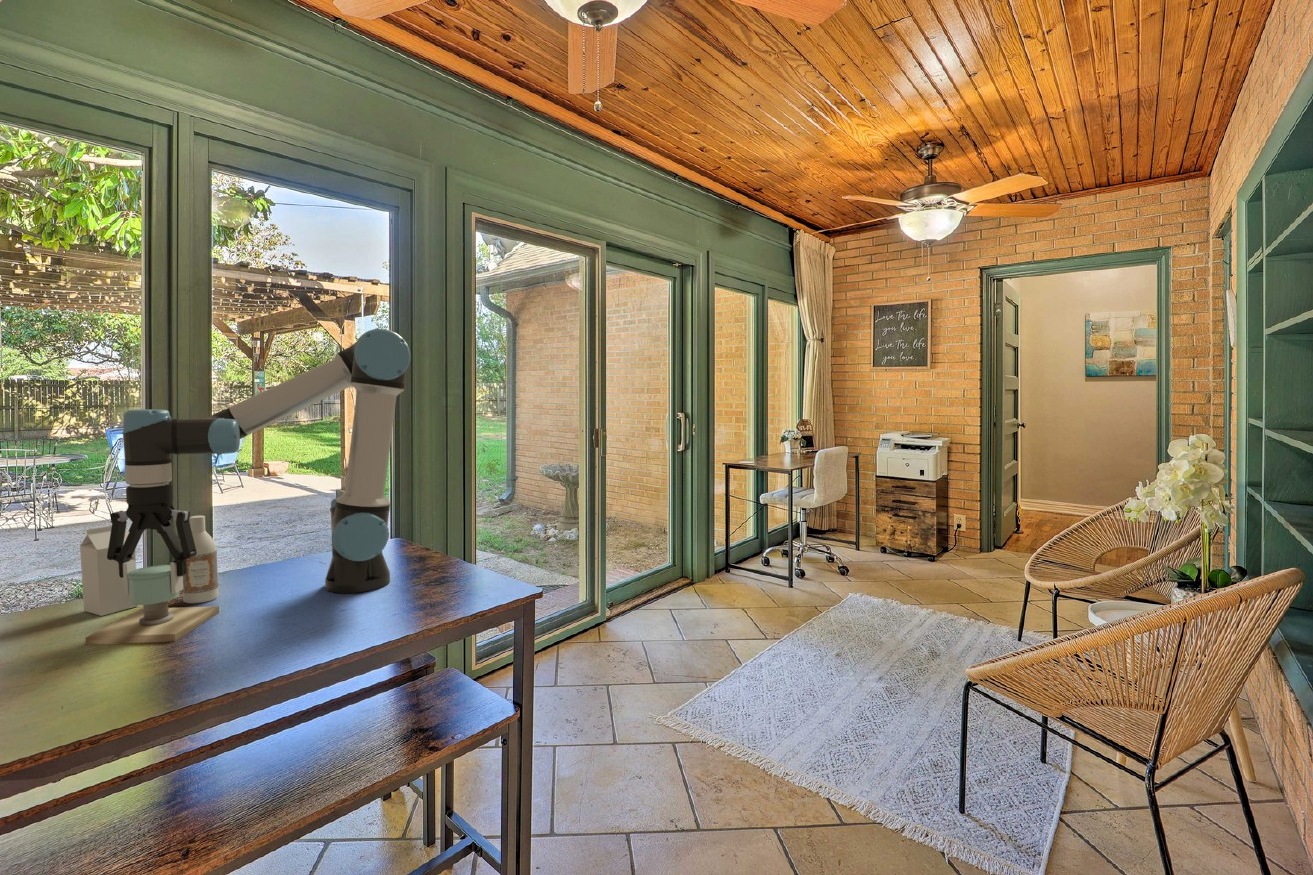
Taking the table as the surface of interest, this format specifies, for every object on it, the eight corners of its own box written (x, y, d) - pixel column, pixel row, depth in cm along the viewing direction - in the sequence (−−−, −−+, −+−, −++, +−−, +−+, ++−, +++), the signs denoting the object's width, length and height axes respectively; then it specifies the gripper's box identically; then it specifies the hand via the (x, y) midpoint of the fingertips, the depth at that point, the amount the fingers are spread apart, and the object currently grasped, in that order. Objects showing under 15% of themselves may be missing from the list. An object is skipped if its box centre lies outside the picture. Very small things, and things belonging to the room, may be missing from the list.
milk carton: (138, 606, 144) (134, 525, 143) (100, 616, 138) (95, 531, 136) (121, 601, 147) (117, 522, 146) (83, 611, 141) (78, 528, 139)
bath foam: (181, 606, 145) (177, 520, 143) (184, 597, 151) (179, 515, 149) (218, 600, 149) (214, 517, 147) (219, 592, 155) (215, 512, 153)
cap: (187, 591, 136) (186, 564, 136) (164, 604, 128) (163, 575, 128) (145, 592, 135) (144, 565, 135) (119, 606, 127) (117, 576, 126)
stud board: (219, 612, 141) (217, 562, 140) (175, 641, 125) (172, 584, 124) (140, 615, 139) (137, 564, 138) (85, 644, 123) (82, 587, 122)
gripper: (214, 481, 135) (218, 584, 137) (106, 481, 132) (111, 587, 134) (194, 486, 127) (198, 596, 129) (78, 487, 125) (84, 599, 126)
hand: (154, 591), depth 131 cm, fingers closed on cap, 8 cm apart
